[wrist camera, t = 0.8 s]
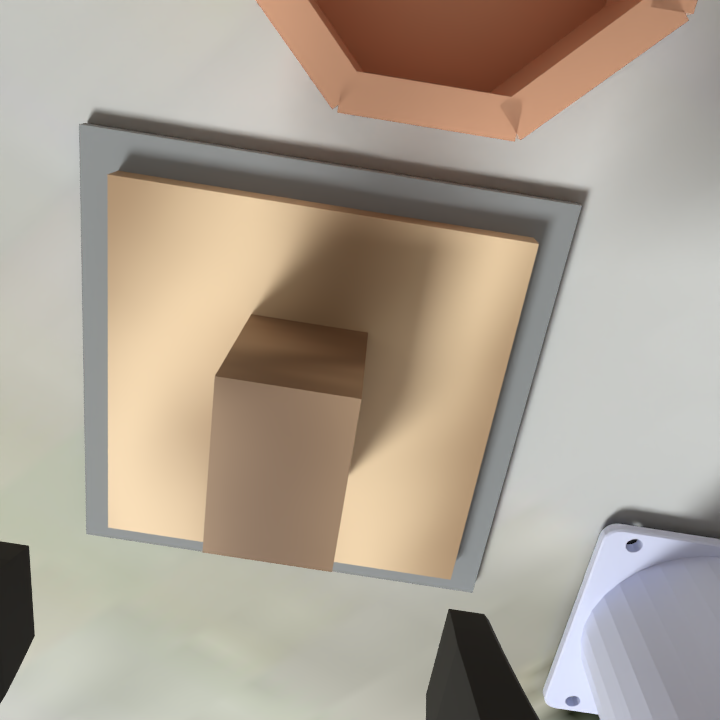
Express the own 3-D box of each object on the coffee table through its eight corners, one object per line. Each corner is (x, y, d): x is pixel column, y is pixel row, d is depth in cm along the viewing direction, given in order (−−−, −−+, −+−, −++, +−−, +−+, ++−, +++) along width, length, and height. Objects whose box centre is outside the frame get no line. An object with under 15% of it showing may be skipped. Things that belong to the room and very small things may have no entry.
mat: (578, 203, 18) (582, 205, 17) (471, 584, 23) (472, 592, 22) (85, 123, 17) (79, 124, 17) (91, 526, 23) (86, 534, 22)
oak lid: (533, 237, 18) (579, 292, 13) (449, 564, 22) (462, 685, 18) (118, 170, 17) (26, 203, 13) (116, 513, 22) (47, 623, 17)
